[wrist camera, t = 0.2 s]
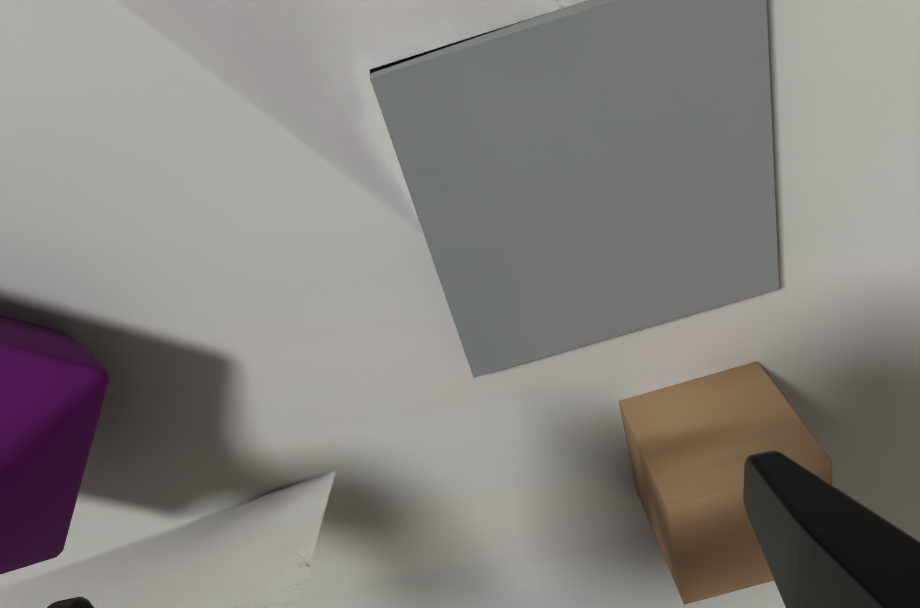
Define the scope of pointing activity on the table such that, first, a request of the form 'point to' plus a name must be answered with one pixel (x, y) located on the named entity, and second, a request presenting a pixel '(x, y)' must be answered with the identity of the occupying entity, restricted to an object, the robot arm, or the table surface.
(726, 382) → the walnut cube
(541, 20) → the slate coaster
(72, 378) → the perfume bottle
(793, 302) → the table surface
